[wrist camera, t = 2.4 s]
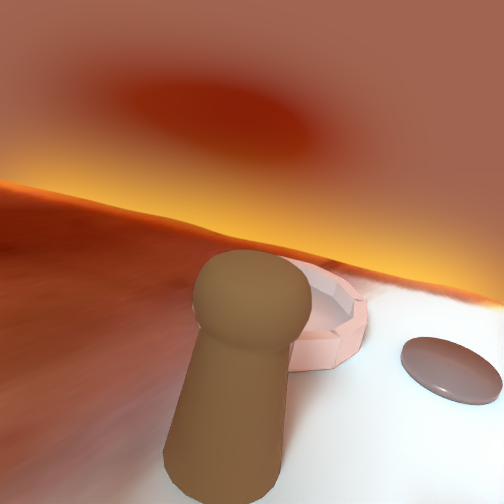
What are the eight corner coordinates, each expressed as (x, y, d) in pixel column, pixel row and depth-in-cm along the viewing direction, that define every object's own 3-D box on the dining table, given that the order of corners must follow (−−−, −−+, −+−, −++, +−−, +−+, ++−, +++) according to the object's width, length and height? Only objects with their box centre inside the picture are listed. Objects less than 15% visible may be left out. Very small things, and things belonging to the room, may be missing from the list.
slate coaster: (384, 364, 35) (386, 357, 34) (423, 333, 40) (425, 327, 40) (481, 420, 31) (484, 413, 30) (511, 378, 36) (514, 371, 36)
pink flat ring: (160, 304, 37) (163, 275, 36) (267, 267, 46) (272, 244, 45) (291, 397, 30) (299, 364, 29) (387, 331, 39) (396, 305, 38)
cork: (252, 405, 28) (288, 234, 24) (301, 490, 23) (358, 293, 19) (150, 422, 26) (171, 234, 22) (181, 522, 21) (216, 303, 17)
